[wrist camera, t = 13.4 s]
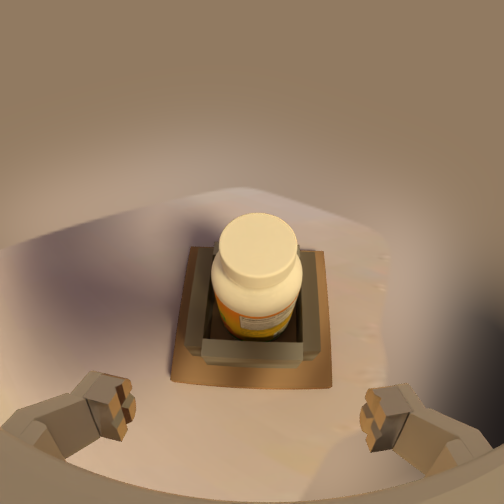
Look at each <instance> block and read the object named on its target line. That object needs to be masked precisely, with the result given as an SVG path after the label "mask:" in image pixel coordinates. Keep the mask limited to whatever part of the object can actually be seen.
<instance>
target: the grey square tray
mask: <svg viewBox="0 0 504 504" xmlns="http://www.w3.org/2000/svg"><path fill="white" fill-rule="evenodd" d="M218 251H219V242H215V244H214V247H191V248H190V254H189V259H188V264H187V270H186V276H185V281H184V287H183V293H182V299H181V306H180V312H179V319H178V325H177V332H176V339H175V346H174V354H173V362H172V370H171V378H170V380H171V381H173V382H179V383H187V384H196V385H206V386H217V387H231V388H249V389H327V388H331V387H332V361H331V339H330V322H329V307H328V294H327V282H326V271H325V261H324V251H300V248H299V245H297V255H298V257H299V259H300V261H301V265H302V283H301V288H300V291H299V294H298V297H297V300H296V303H295V306H294V309H293V312H292V315H291V318H290V321H289V323H288V325H287V327H286V329H285V331H284V332H283V333H282V334H281V335H280V336H279V337H278V338H276V339H275V340H273V341H271V342H254V341H238V340H236V339H235V338H234V337H232V336H231V335H230V334H229V333H228V331H227V330H226V328H225V327H224V325H223V322H222V319H221V316H220V312H219V308H218V304H217V301H216V297H215V293H214V289H213V285H212V278H211V269H212V264H213V261H214V258H215V256H216V254H217V253H218Z"/></svg>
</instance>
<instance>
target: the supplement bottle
mask: <svg viewBox="0 0 504 504" xmlns="http://www.w3.org/2000/svg"><path fill="white" fill-rule="evenodd" d="M211 278H212V285H213V289H214V293H215V297H216V301H217V304H218V308H219V312H220V316H221V319H222V322H223V325H224V327H225V328H226V330H227V331H228V333H229V334H230V335H231V336H232V337H234V338H235V339H236V340H238V341H254V342H271V341H273V340H275V339H276V338H278V337H279V336H280V335H281V334H282V333H283V332H284V331H285V329H286V327H287V325H288V323H289V321H290V318H291V315H292V312H293V309H294V306H295V303H296V300H297V297H298V294H299V291H300V288H301V283H302V265H301V261H300V259H299V257H298V255H297V239H296V236H295V234H294V232H293V230H292V229H291V227H290V226H289V225H288V224H287V223H286V222H284V221H283V220H282V219H280V218H278V217H276V216H273V215H270V214H266V213H250V214H245V215H242V216H240V217H238V218H236V219H234V220H233V221H231V222H230V223H229V224H228V225H227V226H226V227H225V228H224V230H223V231H222V233H221V236H220V239H219V251H218V253H217V254H216V256H215V258H214V261H213V264H212V269H211Z"/></svg>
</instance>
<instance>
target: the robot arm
mask: <svg viewBox="0 0 504 504" xmlns="http://www.w3.org/2000/svg"><path fill="white" fill-rule="evenodd" d="M131 390H132V385H131V381H130V380H129V379H127V378H123V377H118V376H114V375H110V374H105V373H101V372H97V371H90V372H89V373H88V374H87V375H86V376H85V377H84V379H83V380H82V381H81V382H80V383H79V384H78V385H77V387H76V388H75V389H74V390H73V391H72V392H71V394H68V393H65V394H63V395H60V396H57V397H54V398H51V399H48V400H45V401H43V402H40V403H37V404H34V405H31V406H27V407H24V408H21V409H18V410H16V411H15V413H14V414H13V415H12V416H11V417H10V418H9V419H8V420H7V421H6V422H5V423H4V424H3V425H2V426H1V427H0V504H504V444H503V445H501V446H499V447H497V448H495V449H492V447H491V446H490V445H489V443H488V442H487V440H486V439H485V438H484V437H483V435H482V434H481V433H480V431H479V430H478V429H475V428H473V427H470V426H468V425H466V424H464V423H461V422H459V421H457V420H454V419H452V418H450V417H448V416H446V415H443V414H441V413H439V412H437V411H434V410H433V409H430V408H429V409H426V408H425V406H424V405H423V404H422V402H421V401H420V399H419V398H418V396H417V395H416V393H415V392H414V391H413V389H412V388H411V386H410V385H409V384H407V383H404V384H398V385H394V386H387V387H379V388H370V389H368V391H367V392H366V395H365V399H366V402H367V403H366V404H365V405H363V406H362V408H361V412H360V426H361V429H362V431H363V432H364V433H366V434H367V437H366V442H367V445H368V447H369V450H370V452H371V453H372V452H378V451H384V450H390V449H393V451H394V452H395V453H397V454H398V455H399V456H401V457H402V458H403V459H405V460H406V461H407V462H408V463H410V464H411V465H412V466H414V467H415V468H416V469H418V470H419V471H420V472H422V473H423V474H425V477H424V478H423V479H420V480H417V481H413V482H409V483H406V484H403V485H399V486H395V487H391V488H387V489H382V490H378V491H374V492H368V493H363V494H358V495H352V496H346V497H339V498H332V499H323V500H313V501H299V502H237V501H223V500H212V499H204V498H196V497H189V496H183V495H177V494H171V493H166V492H161V491H157V490H152V489H148V488H144V487H140V486H136V485H132V484H128V483H125V482H121V481H118V480H115V479H111V478H108V477H105V476H102V475H99V474H96V473H93V472H91V471H88V470H85V469H83V468H80V467H77V466H75V465H73V464H70V463H68V462H66V460H65V459H66V458H68V457H69V456H71V455H73V454H74V453H76V452H78V451H79V450H81V449H83V448H84V447H86V446H88V445H89V444H91V443H92V442H94V441H96V440H97V439H99V438H100V436H101V437H105V438H108V439H112V440H116V441H121V442H122V440H123V438H124V436H125V434H126V432H127V430H128V428H127V425H126V424H128V423H130V422H132V421H133V419H134V417H135V412H136V401H135V397H134V396H133V395H132V394H131V393H130V391H131Z"/></svg>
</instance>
